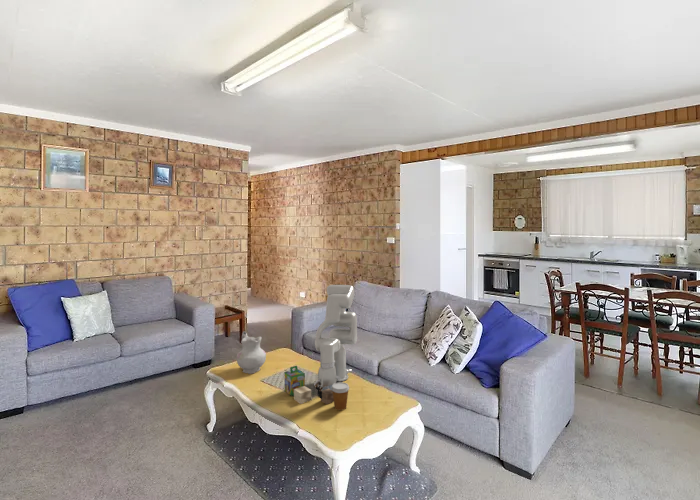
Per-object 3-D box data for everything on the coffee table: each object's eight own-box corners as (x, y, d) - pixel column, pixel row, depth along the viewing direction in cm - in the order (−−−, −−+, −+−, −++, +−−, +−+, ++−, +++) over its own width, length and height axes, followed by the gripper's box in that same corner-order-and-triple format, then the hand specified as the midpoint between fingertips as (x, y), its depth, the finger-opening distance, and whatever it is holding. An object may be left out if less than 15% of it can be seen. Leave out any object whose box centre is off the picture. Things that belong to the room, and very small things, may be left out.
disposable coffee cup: (343, 413, 198) (343, 390, 197) (328, 408, 203) (327, 386, 202) (352, 406, 206) (352, 384, 205) (338, 401, 211) (337, 380, 210)
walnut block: (328, 398, 216) (328, 388, 215) (334, 401, 211) (334, 391, 211) (320, 400, 212) (320, 391, 212) (326, 404, 208) (326, 394, 208)
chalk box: (291, 396, 218) (291, 371, 217) (284, 391, 225) (283, 366, 224) (305, 392, 223) (305, 367, 222) (297, 387, 230) (297, 362, 230)
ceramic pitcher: (229, 372, 257) (225, 336, 254) (251, 361, 273) (248, 327, 270) (250, 379, 245) (247, 342, 242) (273, 367, 261) (270, 332, 258)
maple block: (304, 396, 218) (304, 385, 218) (311, 400, 213) (311, 390, 212) (294, 399, 214) (293, 389, 214) (300, 404, 209) (300, 393, 208)
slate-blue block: (330, 388, 229) (330, 379, 228) (335, 391, 224) (335, 382, 224) (322, 390, 225) (322, 381, 225) (327, 394, 221) (327, 384, 220)
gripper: (335, 359, 219) (335, 389, 219) (310, 366, 208) (310, 397, 209) (343, 363, 213) (343, 393, 213) (318, 370, 202) (318, 401, 203)
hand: (327, 395), depth 211 cm, fingers open, 9 cm apart
